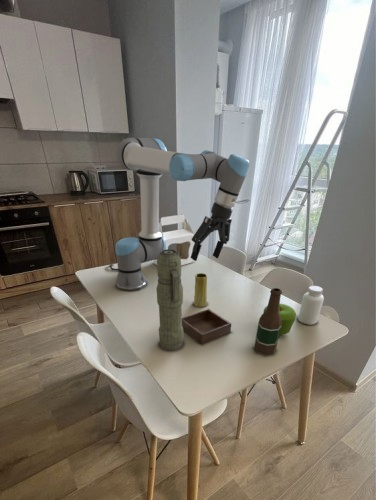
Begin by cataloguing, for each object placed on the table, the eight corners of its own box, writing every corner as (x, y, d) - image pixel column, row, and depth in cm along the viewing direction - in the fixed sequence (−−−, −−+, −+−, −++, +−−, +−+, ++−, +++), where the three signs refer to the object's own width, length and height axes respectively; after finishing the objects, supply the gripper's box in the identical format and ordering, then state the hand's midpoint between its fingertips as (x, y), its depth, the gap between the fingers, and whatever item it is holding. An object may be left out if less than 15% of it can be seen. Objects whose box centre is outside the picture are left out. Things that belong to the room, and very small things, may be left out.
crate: (180, 327, 118) (180, 318, 115) (207, 317, 125) (208, 308, 123) (201, 344, 108) (202, 335, 106) (230, 332, 115) (231, 323, 113)
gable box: (181, 256, 191) (181, 211, 175) (193, 262, 182) (194, 215, 166) (152, 263, 180) (150, 216, 164) (164, 269, 171) (162, 220, 155)
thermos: (168, 355, 102) (165, 259, 83) (153, 339, 110) (147, 249, 91) (189, 348, 106) (191, 254, 86) (173, 333, 114) (171, 244, 95)
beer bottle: (276, 357, 102) (290, 296, 89) (254, 354, 103) (264, 293, 90) (275, 344, 108) (288, 285, 95) (254, 342, 110) (264, 283, 96)
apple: (279, 343, 109) (285, 318, 103) (253, 330, 116) (257, 305, 110) (297, 332, 116) (304, 307, 109) (272, 320, 123) (276, 296, 117)
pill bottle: (294, 320, 123) (302, 288, 115) (302, 313, 128) (310, 282, 120) (312, 327, 119) (322, 294, 110) (320, 320, 124) (329, 288, 115)
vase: (191, 302, 136) (192, 273, 128) (203, 300, 138) (204, 272, 130) (197, 308, 132) (197, 278, 124) (208, 305, 134) (210, 276, 126)
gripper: (208, 207, 94) (189, 265, 106) (250, 210, 111) (229, 260, 123) (193, 198, 97) (176, 255, 110) (236, 202, 114) (217, 251, 127)
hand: (204, 258), depth 117 cm, fingers open, 13 cm apart
